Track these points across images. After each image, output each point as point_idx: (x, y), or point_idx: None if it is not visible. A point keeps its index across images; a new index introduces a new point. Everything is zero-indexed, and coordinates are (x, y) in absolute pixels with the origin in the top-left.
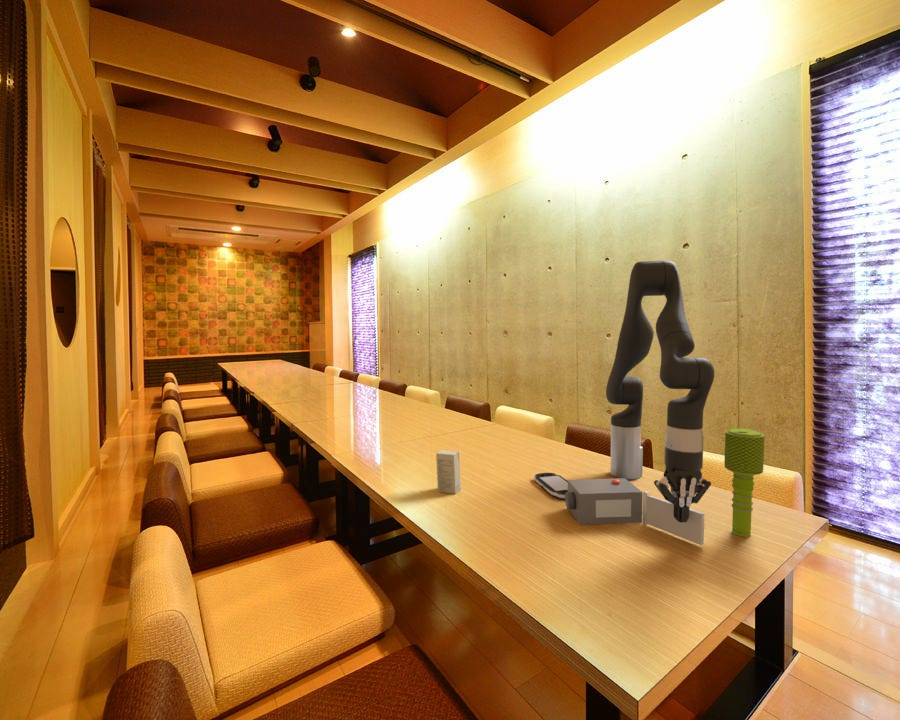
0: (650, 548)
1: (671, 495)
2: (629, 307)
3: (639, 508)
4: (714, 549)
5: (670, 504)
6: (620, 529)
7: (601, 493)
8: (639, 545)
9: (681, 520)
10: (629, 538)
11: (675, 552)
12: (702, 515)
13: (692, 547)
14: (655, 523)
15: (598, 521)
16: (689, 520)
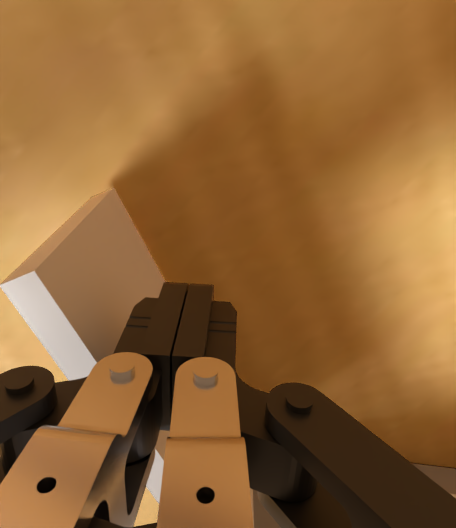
0: (388, 239)
1: (364, 481)
2: None
3: (257, 509)
4: (52, 155)
5: None
6: (385, 414)
7: None
8: (419, 276)
9: (212, 290)
10: (411, 341)
11: (290, 174)
12: (33, 267)
13: (160, 200)
14: None
15: (451, 478)
16: (117, 308)
